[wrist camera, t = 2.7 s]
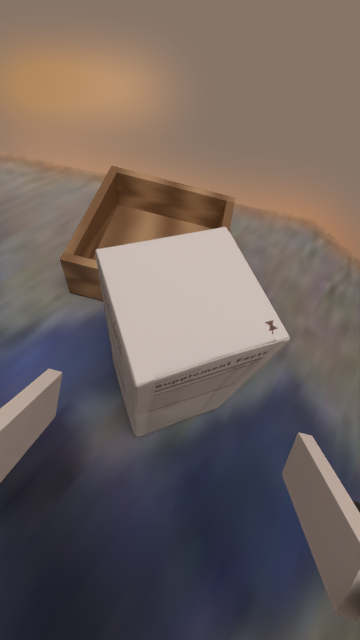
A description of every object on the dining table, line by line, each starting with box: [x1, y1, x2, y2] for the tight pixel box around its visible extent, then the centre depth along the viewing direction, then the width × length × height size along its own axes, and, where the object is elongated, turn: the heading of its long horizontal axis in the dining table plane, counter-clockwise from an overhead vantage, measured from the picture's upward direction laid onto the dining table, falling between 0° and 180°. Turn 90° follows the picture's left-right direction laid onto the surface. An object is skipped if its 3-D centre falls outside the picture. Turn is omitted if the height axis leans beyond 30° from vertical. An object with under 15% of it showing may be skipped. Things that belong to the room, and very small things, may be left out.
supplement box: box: [95, 227, 290, 437], centre depth 24 cm, size 10×9×17 cm
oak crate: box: [60, 166, 235, 301], centre depth 37 cm, size 17×17×6 cm
